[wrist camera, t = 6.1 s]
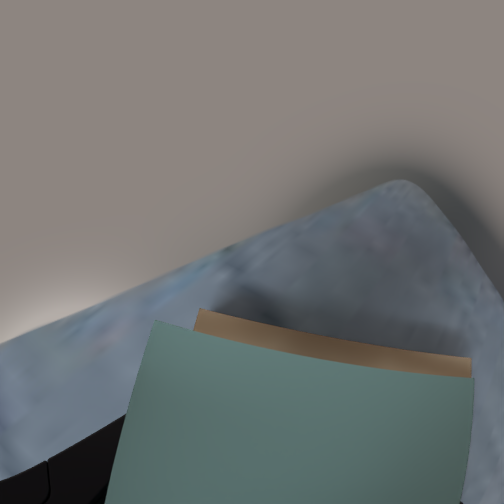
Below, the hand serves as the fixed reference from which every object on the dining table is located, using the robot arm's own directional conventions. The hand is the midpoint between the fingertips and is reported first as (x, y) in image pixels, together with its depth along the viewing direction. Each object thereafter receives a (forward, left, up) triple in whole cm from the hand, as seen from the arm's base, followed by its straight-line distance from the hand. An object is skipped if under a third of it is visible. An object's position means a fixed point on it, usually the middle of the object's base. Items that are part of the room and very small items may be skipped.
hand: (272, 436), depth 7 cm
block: (-1, +1, -6) cm, 6 cm away
